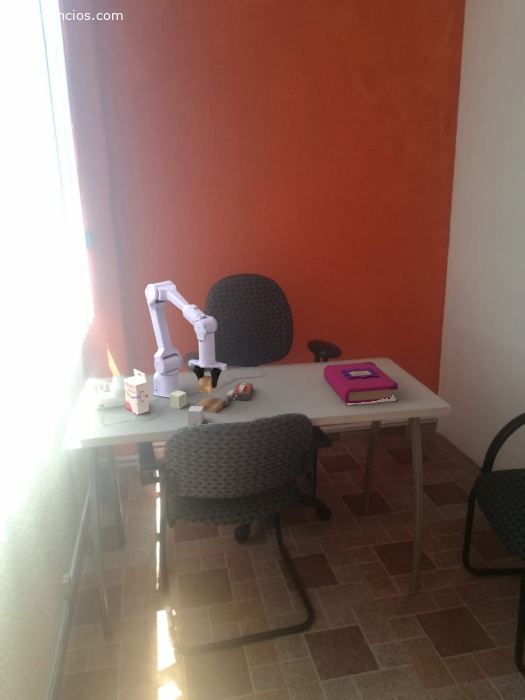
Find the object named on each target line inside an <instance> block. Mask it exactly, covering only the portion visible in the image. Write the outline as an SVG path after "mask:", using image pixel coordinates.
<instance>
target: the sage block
mask: <svg viewBox="0 0 525 700" xmlns="http://www.w3.org/2000/svg"><path fill="white" fill-rule="evenodd" d="M187 396H188V395H187V392H186V391H184V392H182V391H178V390H177V391H175V392H173V393H171V394H169V397H168V398H169V407H171V408H173V409H177V410H181V409H182V408H184V407H186V406H188V397H187Z"/></svg>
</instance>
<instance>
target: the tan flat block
mask: <svg viewBox="0 0 525 700" xmlns="http://www.w3.org/2000/svg"><path fill="white" fill-rule="evenodd" d="M225 402H226V399H222V398H215V397H210V396H205V397H204V398H203V399H201V400H200V401H199V402H198V403H196V404H195V406H204V412H206V413H212V414H213V413H214V414H216V413H218V412H219V411H220V410H221V409H223V408H224V407H226V406H225V405H224V404H225Z"/></svg>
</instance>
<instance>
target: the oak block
mask: <svg viewBox="0 0 525 700" xmlns="http://www.w3.org/2000/svg"><path fill="white" fill-rule="evenodd" d="M198 383H199V385H198V386H199V393H202V394H208V395H211V394H213V393H214V392H216V391H217V387H215V388H213V387H212V377H211V375H208V374H207V375H205V374H204V376H203V377H202V378H200V379H199V381H198Z"/></svg>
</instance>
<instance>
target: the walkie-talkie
mask: <svg viewBox="0 0 525 700" xmlns="http://www.w3.org/2000/svg"><path fill="white" fill-rule="evenodd" d="M253 390H254V385H253V383H252V382H238V383H236V385H235V388H234V389H230V390H228V393H227V394H226V399H225V404H224V405H225V406H224V407H227V406H228V404H229V402H230V400H233V401H243V402H245V401H249V400H250V399H251V395H252V393H253Z"/></svg>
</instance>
